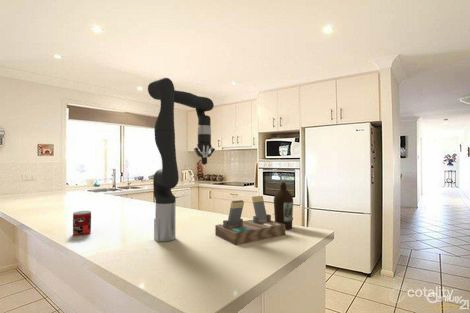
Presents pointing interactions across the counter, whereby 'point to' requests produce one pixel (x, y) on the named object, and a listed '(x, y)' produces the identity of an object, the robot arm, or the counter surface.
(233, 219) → the near lever
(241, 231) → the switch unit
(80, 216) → the canned food
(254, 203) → the far lever
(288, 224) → the olive oil
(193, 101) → the robot arm
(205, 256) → the counter surface
